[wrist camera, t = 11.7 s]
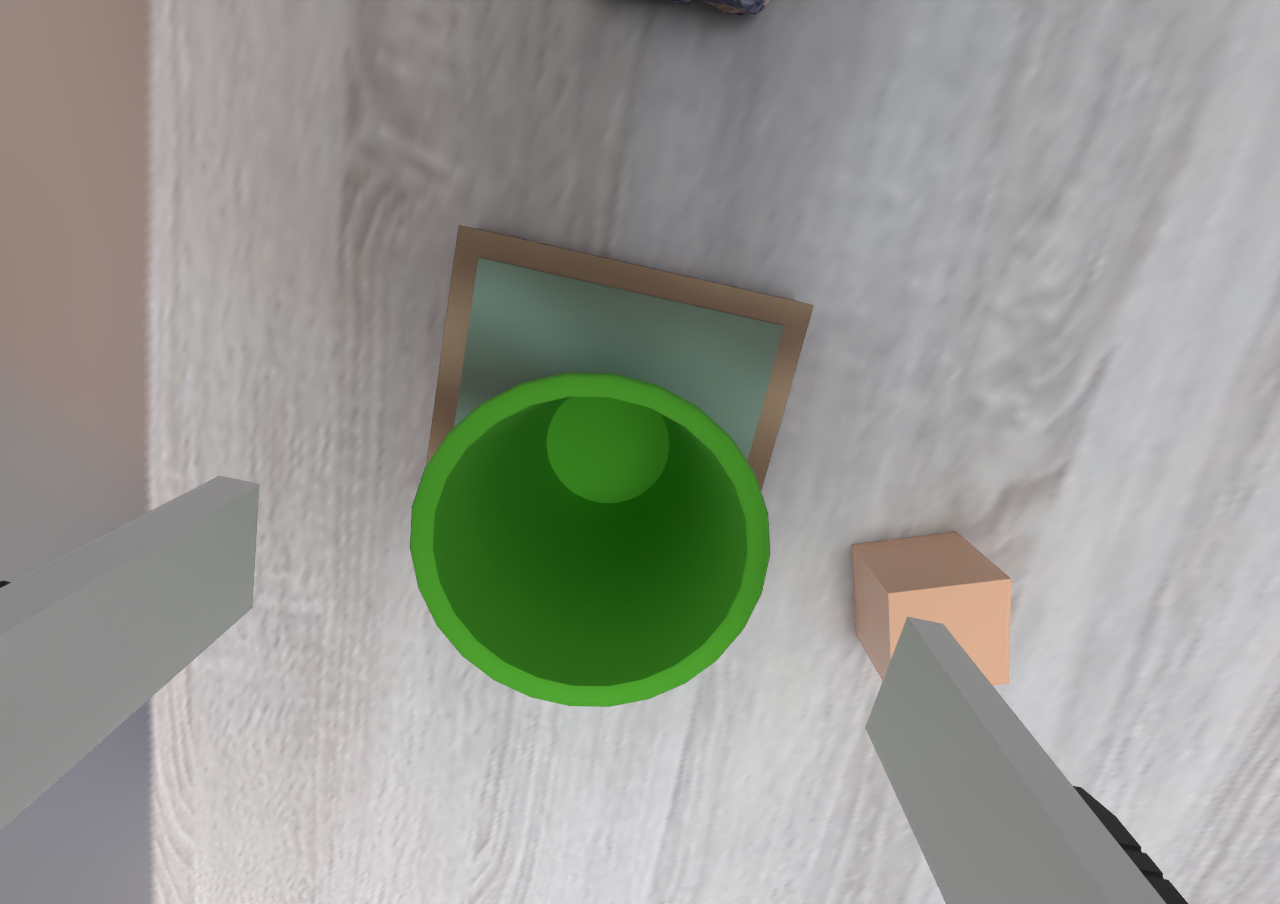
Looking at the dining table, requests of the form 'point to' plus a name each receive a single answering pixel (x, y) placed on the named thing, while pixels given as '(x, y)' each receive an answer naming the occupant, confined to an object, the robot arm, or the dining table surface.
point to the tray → (614, 335)
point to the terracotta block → (932, 598)
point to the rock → (736, 5)
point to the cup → (589, 539)
